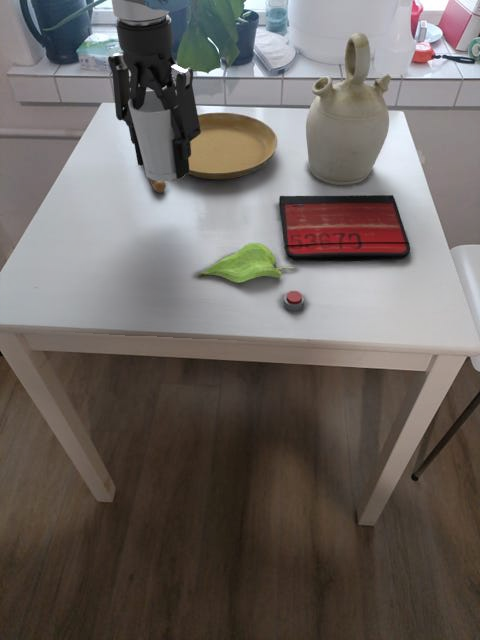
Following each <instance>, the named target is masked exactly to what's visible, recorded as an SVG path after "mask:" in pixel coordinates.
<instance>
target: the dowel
mask: <svg viewBox="0 0 480 640" xmlns="http://www.w3.org/2000/svg"><path fill="white" fill-rule="evenodd" d="M142 166H144V164H143V165H142ZM148 179H149V181H150V183H151V187H152V188H153V190H154V191H155V192H156V193H164V191H166V189H167V185H166V181H155V180H152V179H150V178H148Z"/></svg>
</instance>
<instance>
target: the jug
mask: <svg viewBox="0 0 480 640" xmlns="http://www.w3.org/2000/svg"><path fill="white" fill-rule="evenodd" d="M370 66H371V47H370V42H369V39H368V37H367V35H366V34H365V33H363V32H355V33H353V34H352V35H351V36H350V37H349V38H348V40H347V43H346V46H345V52H344V70H345V74H346V77H345V79H344V80H343V81H340V82H336V83H334V84H333V78H332V77H331V76H328V75H326V76H322V77H320V78H319V79H318V80H317V81H315V82H314V83H313V85H312V88H311V92H312V93H313V94H314V95H315V96H316V97H314V99H313V101H312V103H311V105H310V107H309V110H308V112H307V116H306V122H305V138H306V140H305V141H306V148H307V160H308V166H309V171H310V172H311V174H312V175H313V176H314V177H315V178H317V179H318V180H320V181H321V182H323V183H326V184H330V185H333V186H334V185H335V186H352V185H355V184H358V183H361V182H363V181H364V180H366V179H367V178H368V176H369V175H370V173H371V172H372V169H373V167H374V166H375V163H376V161H377V159H378V157H379V155H380V154H381V151H382V149H383V146H384V144H385V142H386V139H387V138H388V133H389V127H390V114H389V113H390V112H389V108H388V106H387V102H386V100H385V98H384V96H383V95H384V93H386V92H388V90H389V84H390V82H391V79H392V77H391V75H390V74H388V73H386V74H384V75H382V77H379V78H376V79H374V83H373V84H371V85H370V84H366V83H365V81H366V80H367V78H368V75H369V72H370Z"/></svg>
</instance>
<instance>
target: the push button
mask: <svg viewBox="0 0 480 640" xmlns="http://www.w3.org/2000/svg"><path fill="white" fill-rule="evenodd" d="M304 304H305V297H304V295H303V294H302V293H301V292H300V291H298V290H291V291H288V292H287V293H286V294H284V296H283V306H284V307H285V308H286V309H288V310H291V311H298V310H301V309H302V308H303V307H304Z"/></svg>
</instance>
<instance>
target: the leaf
mask: <svg viewBox="0 0 480 640" xmlns="http://www.w3.org/2000/svg"><path fill="white" fill-rule="evenodd" d="M276 262H277V258H276V256H275V254H274V253H273V251H272V250H270V248H269V247H268V246H266V245H264V244H262V243H259V242H250V243H247V244H245V245H244V246H243V247H241V248H240V250H239V251H238V252H235V253H233V254H231V255H228V256H225V257H224V258H222V259H221V260H219V261H217V262H216V263H214V264H213V265H212V266H210V267H209V268H207V269H206V270H204V271H202V272H198V273H197V277H200V276H202V275H208V276H218V277H221V278H224V279H226V280H227V281H230V282H233V283H236V284H242V283H245V282H248V281H250V280H253V279H256V278H260V277H261V278H262V277H272V278H275V279H280V278H281V277H282V272H281V271H280V270H283V269H287V270H294V269H295V267H291V266H281V267H278V268H276V267H274V265H275V263H276Z"/></svg>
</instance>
